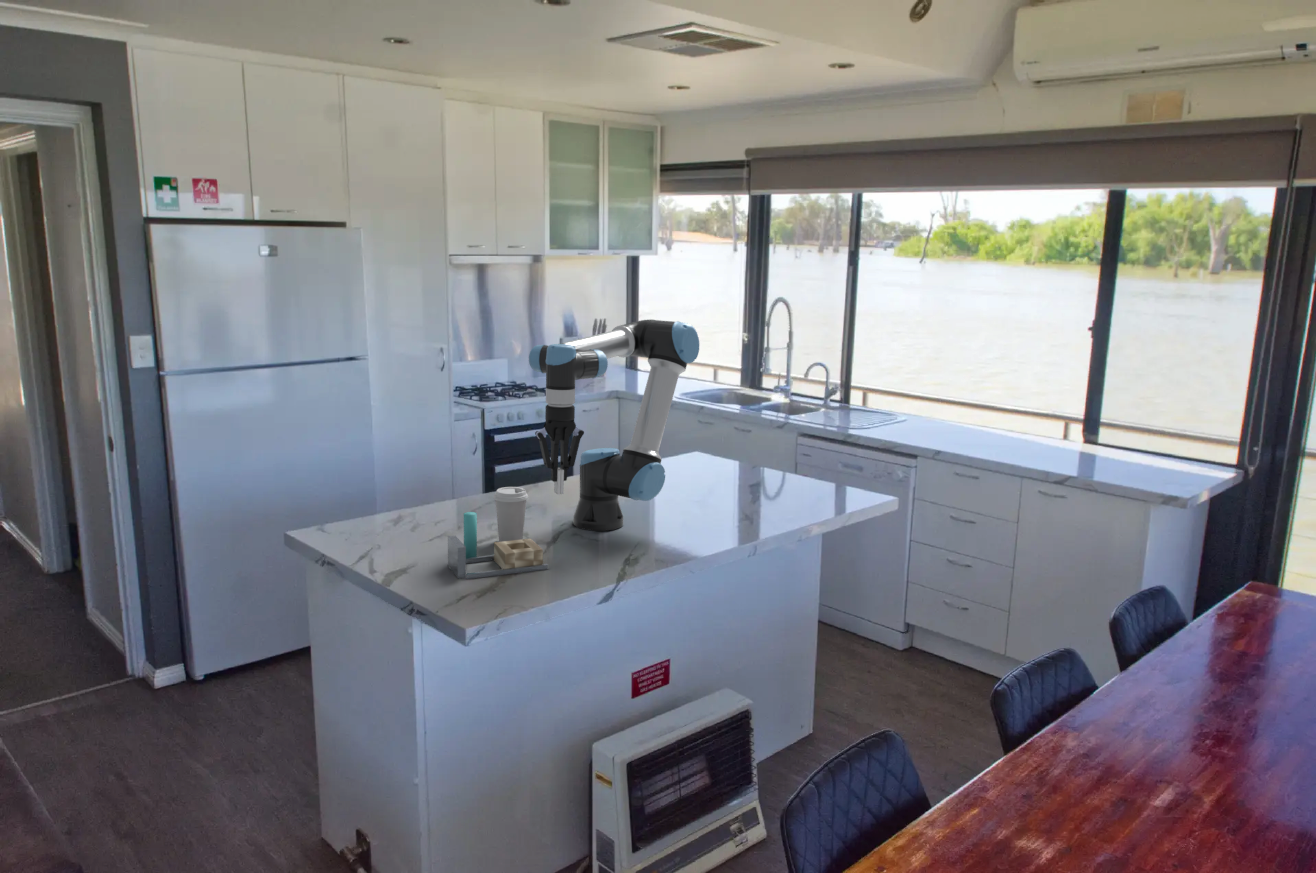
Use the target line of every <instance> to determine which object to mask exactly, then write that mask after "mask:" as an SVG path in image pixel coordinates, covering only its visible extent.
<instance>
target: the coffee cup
mask: <svg viewBox="0 0 1316 873" xmlns="http://www.w3.org/2000/svg"><path fill="white" fill-rule="evenodd" d="M493 499H494V500H495V509H496V510H495V512H496V518H497V519H496V521H497V532H498V533H497V534H498V542H503V541H512V540H521V539H524V532H525V531H524V528H525V518H526V508H527V500H528V499H529V495H528V493H527V491H526V489H525V488H523V487H518V486H505V487H504V486H503V487H499V488H497V489H496V492H495V493H494V495H493Z"/></svg>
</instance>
